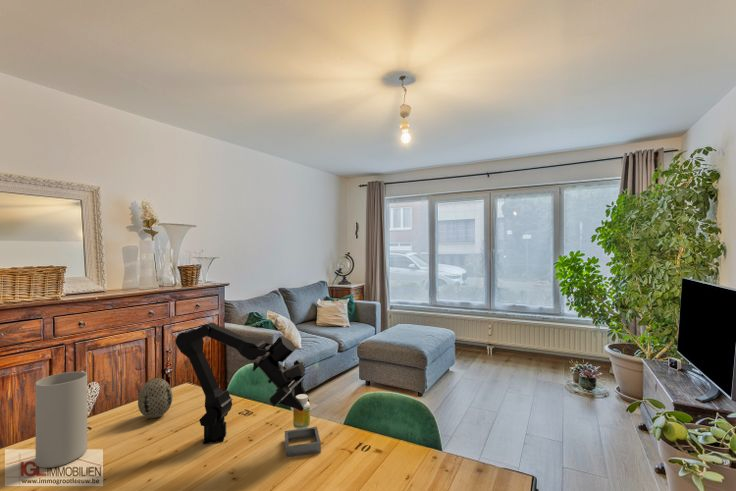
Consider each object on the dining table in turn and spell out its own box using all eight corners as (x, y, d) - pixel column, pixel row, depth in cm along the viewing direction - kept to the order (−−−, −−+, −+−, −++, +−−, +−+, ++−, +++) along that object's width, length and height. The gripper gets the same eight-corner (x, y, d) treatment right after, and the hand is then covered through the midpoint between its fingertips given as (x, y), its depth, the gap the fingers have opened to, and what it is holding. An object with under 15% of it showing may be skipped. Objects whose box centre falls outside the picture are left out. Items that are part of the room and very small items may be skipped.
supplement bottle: (306, 430, 116) (306, 400, 116) (290, 428, 117) (290, 399, 118) (312, 422, 122) (312, 393, 122) (297, 421, 123) (297, 392, 123)
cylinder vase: (96, 450, 118) (96, 373, 118) (52, 472, 106) (52, 387, 106) (70, 443, 122) (70, 369, 122) (25, 464, 110) (25, 382, 110)
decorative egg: (161, 423, 135) (161, 383, 136) (130, 424, 136) (130, 384, 136) (178, 410, 147) (178, 373, 147) (150, 410, 147) (150, 373, 148)
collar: (285, 457, 113) (285, 448, 113) (284, 439, 123) (284, 431, 123) (320, 452, 116) (320, 442, 116) (316, 435, 126) (316, 426, 126)
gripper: (279, 363, 111) (313, 401, 109) (300, 347, 130) (329, 379, 128) (255, 387, 112) (288, 425, 111) (279, 367, 131) (308, 400, 129)
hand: (305, 406), depth 119 cm, fingers closed on supplement bottle, 5 cm apart
